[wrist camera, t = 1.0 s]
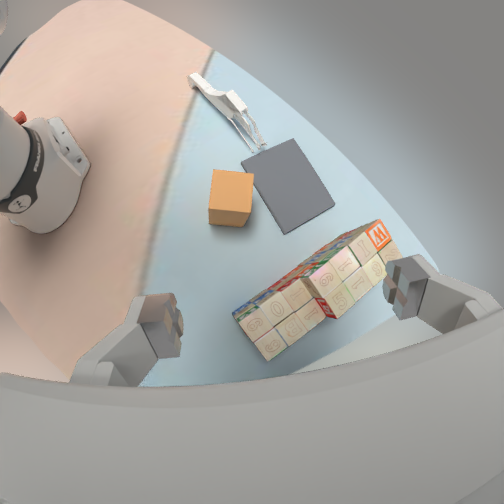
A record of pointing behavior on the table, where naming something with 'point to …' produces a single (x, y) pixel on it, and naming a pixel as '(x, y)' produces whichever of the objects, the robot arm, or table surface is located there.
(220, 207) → the orange block
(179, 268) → the table surface
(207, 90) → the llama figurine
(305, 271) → the stack of blocks
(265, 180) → the slate mat
